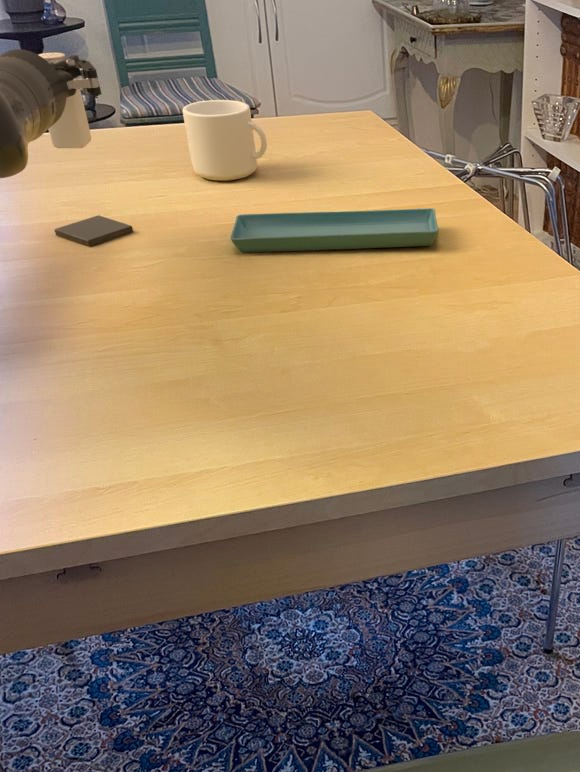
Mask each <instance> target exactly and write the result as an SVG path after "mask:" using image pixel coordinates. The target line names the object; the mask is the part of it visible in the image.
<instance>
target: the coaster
mask: <svg viewBox="0 0 580 772" xmlns="http://www.w3.org/2000/svg"><path fill="white" fill-rule="evenodd" d="M133 228H134V227H133V226H132V225H130V224H128V223H124V222H121V221H118V220H114V219H111V218H108V217H105V216H102V215H99V214H98V215H94V216H92V217H91V216H90V217H88V218H85V219H82V220H79V221H76V222H73V223H69V224H66V225H64V226H63V225H62V226H60V227H57V228H54V233H55V236H58V237H59V238H63V239H66V240H69V241H72V242H75V243H78V244H81V245H84V246H85V247H89V248H90V247H93V246H96V245H99V244H102V243H105V242H109V241H111V240H113V239H117V238H119V237H122V236H125V235H128V234H132V233H133V232H134V229H133Z"/></svg>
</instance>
